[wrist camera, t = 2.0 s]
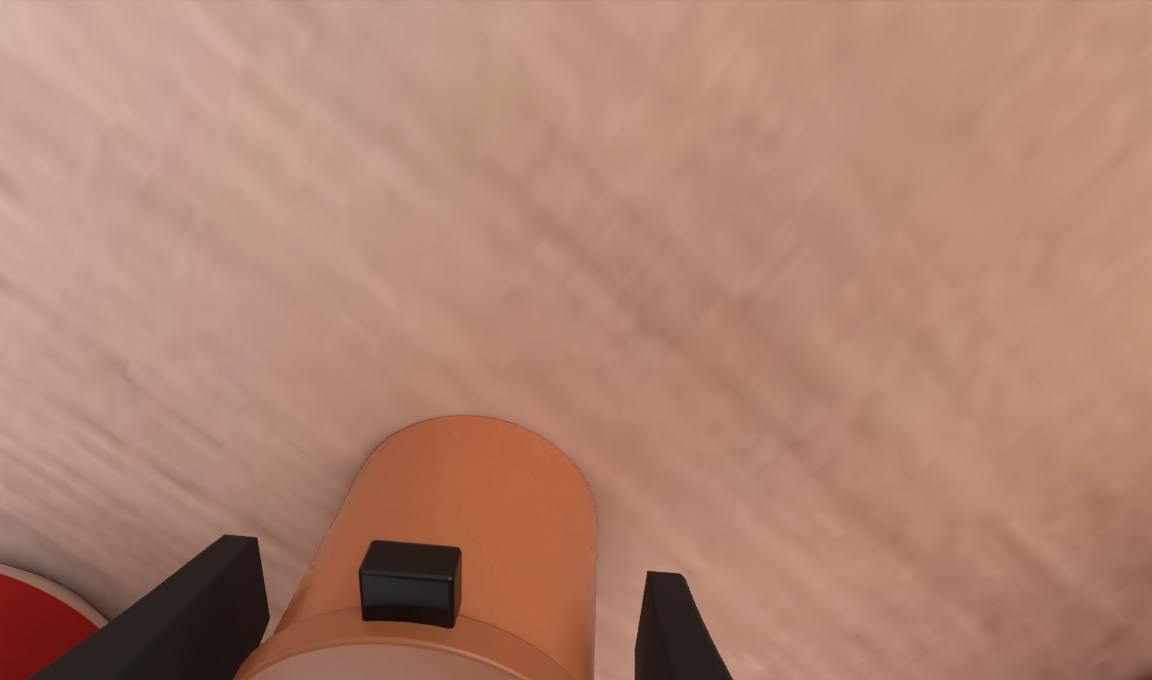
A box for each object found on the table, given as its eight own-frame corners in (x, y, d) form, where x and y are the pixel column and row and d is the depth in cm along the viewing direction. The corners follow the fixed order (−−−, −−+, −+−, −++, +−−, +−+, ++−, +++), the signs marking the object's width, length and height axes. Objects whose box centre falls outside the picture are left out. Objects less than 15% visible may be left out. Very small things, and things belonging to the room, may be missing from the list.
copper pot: (591, 650, 16) (584, 936, 11) (354, 629, 16) (242, 904, 11) (624, 383, 13) (634, 613, 8) (331, 357, 13) (162, 572, 8)
